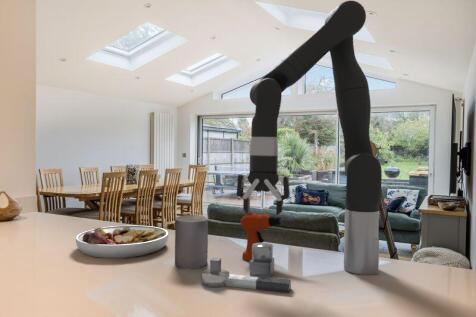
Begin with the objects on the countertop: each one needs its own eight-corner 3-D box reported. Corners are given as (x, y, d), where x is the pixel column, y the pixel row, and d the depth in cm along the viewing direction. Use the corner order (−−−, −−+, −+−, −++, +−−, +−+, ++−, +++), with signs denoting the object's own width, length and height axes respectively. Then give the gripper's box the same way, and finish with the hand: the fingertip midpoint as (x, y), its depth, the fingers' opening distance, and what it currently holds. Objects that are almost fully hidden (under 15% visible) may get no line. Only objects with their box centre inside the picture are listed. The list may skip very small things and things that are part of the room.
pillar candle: (174, 259, 119) (174, 211, 119) (205, 258, 121) (206, 210, 121) (175, 270, 110) (175, 217, 109) (210, 268, 112) (210, 216, 111)
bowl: (120, 235, 153) (120, 215, 153) (185, 244, 140) (185, 222, 140) (55, 253, 126) (55, 229, 126) (127, 266, 113) (127, 239, 113)
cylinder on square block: (274, 272, 109) (274, 243, 108) (270, 278, 103) (270, 248, 103) (254, 270, 110) (254, 241, 110) (249, 276, 105) (250, 246, 105)
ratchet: (291, 285, 98) (292, 262, 98) (287, 295, 91) (287, 270, 91) (207, 276, 104) (207, 254, 104) (197, 285, 97) (197, 261, 97)
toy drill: (297, 264, 111) (291, 211, 112) (239, 262, 120) (234, 213, 121) (303, 260, 115) (297, 209, 116) (247, 258, 125) (242, 211, 125)
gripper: (292, 154, 108) (290, 213, 108) (242, 153, 111) (241, 209, 112) (287, 154, 100) (286, 217, 101) (234, 153, 104) (233, 214, 105)
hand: (262, 213), depth 106 cm, fingers open, 8 cm apart
